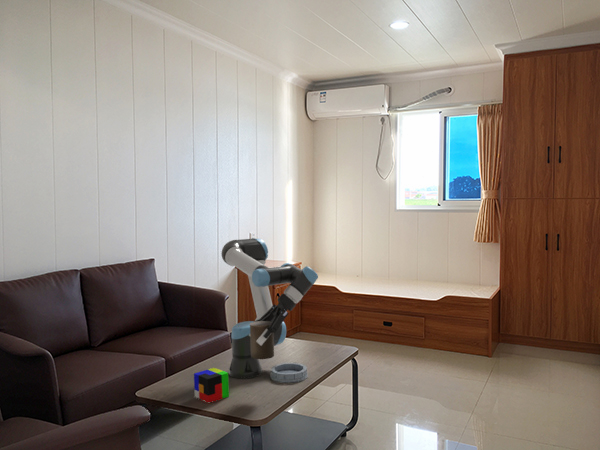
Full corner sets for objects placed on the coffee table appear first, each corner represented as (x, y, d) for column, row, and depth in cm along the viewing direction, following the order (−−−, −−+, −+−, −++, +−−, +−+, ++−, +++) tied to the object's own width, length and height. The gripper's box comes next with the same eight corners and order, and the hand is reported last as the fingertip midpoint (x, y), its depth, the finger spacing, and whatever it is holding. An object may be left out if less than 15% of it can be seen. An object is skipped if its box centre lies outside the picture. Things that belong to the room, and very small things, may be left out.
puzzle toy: (194, 397, 210) (193, 373, 210) (214, 390, 217) (214, 367, 217) (208, 403, 203) (207, 379, 203) (229, 396, 210) (228, 372, 210)
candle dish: (263, 379, 229) (263, 371, 229) (281, 368, 244) (281, 360, 244) (297, 385, 221) (297, 376, 221) (314, 372, 236) (313, 365, 236)
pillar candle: (272, 359, 206) (271, 322, 206) (248, 359, 207) (247, 322, 206) (275, 352, 216) (274, 317, 215) (252, 352, 217) (251, 317, 216)
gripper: (305, 309, 206) (269, 353, 201) (286, 299, 226) (253, 339, 221) (293, 297, 204) (256, 341, 199) (275, 288, 224) (241, 328, 219)
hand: (254, 340), depth 210 cm, fingers closed on pillar candle, 9 cm apart
